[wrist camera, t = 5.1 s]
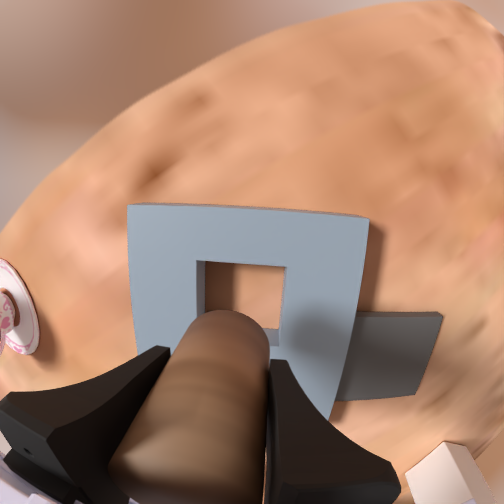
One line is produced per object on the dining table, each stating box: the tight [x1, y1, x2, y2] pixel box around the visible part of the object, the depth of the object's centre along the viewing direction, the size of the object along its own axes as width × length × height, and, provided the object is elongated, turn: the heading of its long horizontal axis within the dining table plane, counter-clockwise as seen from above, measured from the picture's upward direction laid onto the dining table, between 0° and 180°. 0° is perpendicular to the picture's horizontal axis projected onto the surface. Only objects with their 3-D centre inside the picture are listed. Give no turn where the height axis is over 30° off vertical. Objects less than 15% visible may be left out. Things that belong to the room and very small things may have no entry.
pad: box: [334, 311, 443, 401], centre depth 20 cm, size 8×8×1 cm
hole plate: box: [127, 203, 369, 420], centre depth 19 cm, size 18×15×3 cm
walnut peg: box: [108, 310, 270, 504], centre depth 9 cm, size 4×4×8 cm
